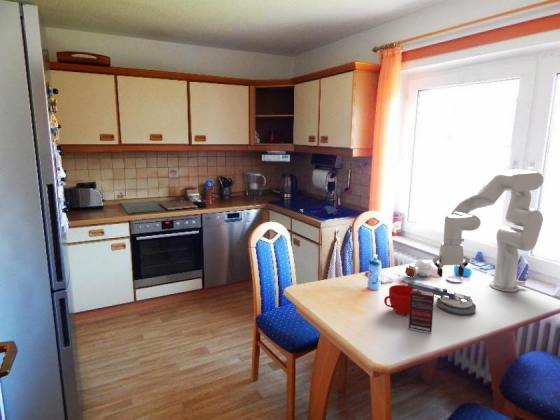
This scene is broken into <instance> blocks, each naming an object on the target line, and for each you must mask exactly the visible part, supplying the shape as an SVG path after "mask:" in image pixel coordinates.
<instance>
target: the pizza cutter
mask: <svg viewBox="0 0 560 420" xmlns="http://www.w3.org/2000/svg"><path fill="white" fill-rule="evenodd" d="M407 286H411V287H414V288H416V289H418V290H425V291H431V292H434V296H438V297H441V299H440V301H441V303H442V304H444V305H446V306H448V307H451V308H455V309H470V308H471V307H472V303H474V302H473V299H472V298H471V295H470V294H469V293H463V294H461V293H457V292H456V291H454V290H452V289H447V288H441V287H437V286H432V285H429V284H423V283H419V282H417V281H415V280H410V281H408V283H407Z"/></svg>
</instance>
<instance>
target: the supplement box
mask: <svg viewBox="0 0 560 420" xmlns="http://www.w3.org/2000/svg"><path fill="white" fill-rule="evenodd" d="M434 301H435V294H434V292H431V291H425V290H418V289H412V291H411V299H410V315H408V318H409V319H408V330H410V331H415V332H419V333H426V334H432V329H433V318H434V317H433V316H434V315H433V314H434V304H435V302H434Z"/></svg>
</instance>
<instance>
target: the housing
mask: <svg viewBox="0 0 560 420" xmlns="http://www.w3.org/2000/svg"><path fill="white" fill-rule="evenodd" d="M434 298H436V307H437V308H438V309H439V310H441V311H442V312H445V313H447V314H449V315H454V316H462V317H463V316H464V317H465V316H466V317H467V316H471V315H474V314H475V313H476V312H477V311H476V310H477V306H476V304H475V303H474V302H473V303H472V307H471V308H470V309H455V308H451V307H448V306H446V305H444V304H442V303H441V301H440V299H441V296H438V295H434Z"/></svg>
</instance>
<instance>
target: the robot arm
mask: <svg viewBox="0 0 560 420" xmlns="http://www.w3.org/2000/svg"><path fill="white" fill-rule="evenodd" d="M543 183H544V176H543V174H542V173H541V172H538V171H533V170H524V169H523V170H522V169H511V170H507V171H499V172H495V173H494V174H492V175H491V177H490V178H489V179H488V180H487V182H486V183H485V184H484V185H483V187H481V189H480V190H479V191H478V192H477V193H476V194H474V195H472V196H469V197H468V198H466V199H464V200H463V201H461V202H459V203H458V205H456V206H455V207H454V209H453V210H452V211H451V213H450V214H447V215H446V216H445V217H444V228H443V242H441V245H440V248H439V251H438V252H439V254H438V256H436V257H434V258H432V259H431V260H432V262H433V264H434V265H435V266H436V268H437V272H436V273H437V276H439V277H440V278H442V277H443V267H444V266H458V271H457V275H459V276H460V277H463V275H464V270H465V268H466V267H467V266H468V265H469V262H470V261H471V259H470V257H467V256H465V255H464V246H463V244H462V242H465V239H464V238H462V235H463V231H465V232H466V231H468V232H472V231H476V230H478V229H479V227H480V226H481V219H480V217H478V216H477V215H475V214H470V212H472V211H474V210H477V209H481V208H486V207H490V206H493V205H494V204H495V203H496V202H497V201H498V200H499V198H501V197H502V195H503V194H504V192H506V191H508V192H510V199H509V203H508V207H507V210H506V215H505V221H506V222H507V223H508V224H510V225H514V226H517V228H516V227H513V226H502V227H500V228H499V229H498V230H497V233H496V246H497V247H496V257H495V258H496V259H495V265H494V266H495V267H494V275H493V280H491V281H489V286H490V287H491V288H493V289H494V290H497V291H501V292H502V291H503V292H507V293H510V292H511V293H514V292H518V290H519V285H520V286H524V285H526V282H525V281H524V280H523V281H522V280H519V279H517V272H518V266H519V265H518V263H519V260H520V257H519V256H520V253H519V250H520V251H525V252H529V251H532V250H533V249H534V248H535V247H536V245H537V242H538V238H539V235H540V232H541V229H542V226H543V220H544V217H543V214H542V212H541V211H539V210H537V209H535V208H531V207H530V205H531V202H532V194H531V191H535V190H537V189H539V188H540V187H542V185H543ZM518 227H521V228H522V229H520V228H518Z"/></svg>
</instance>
